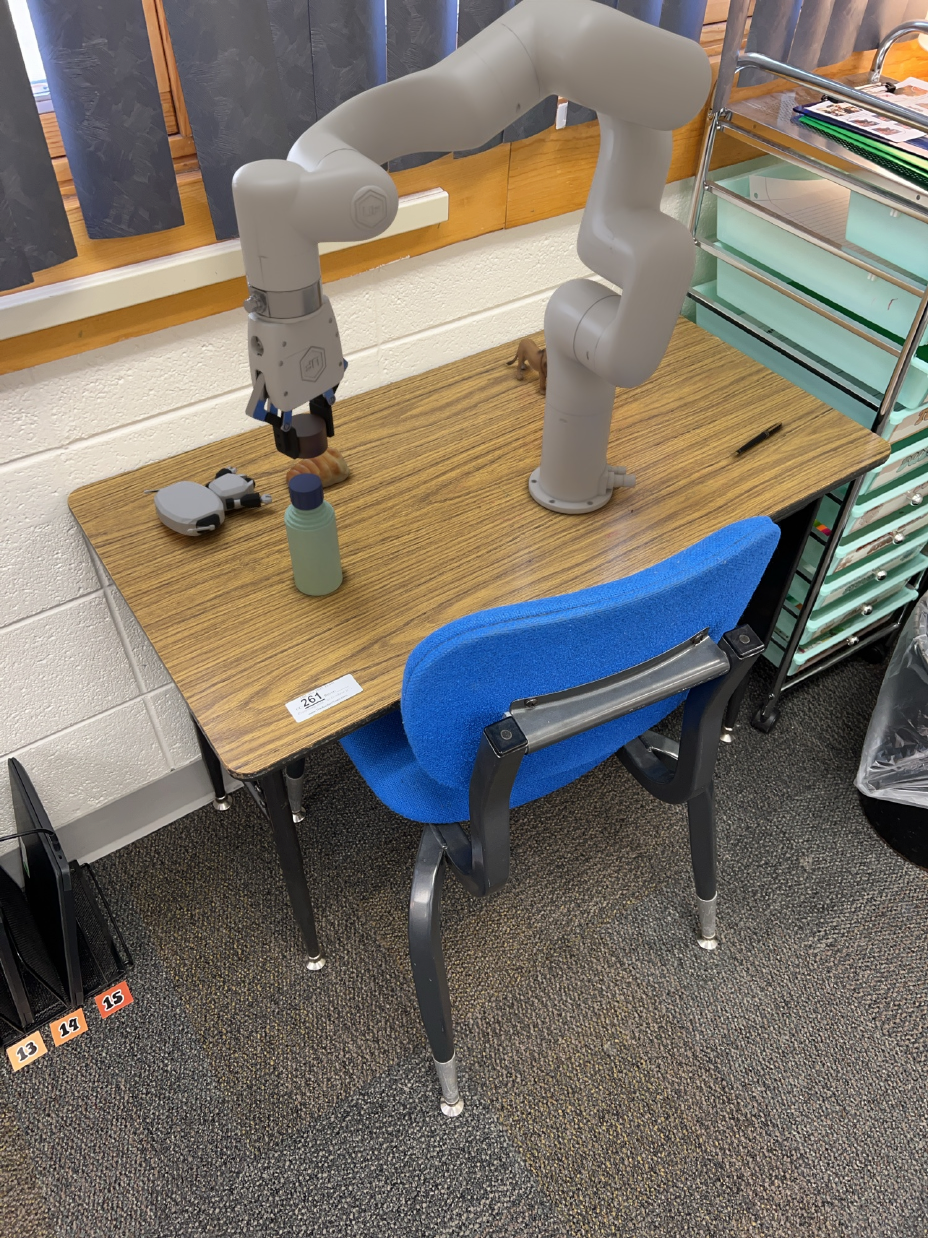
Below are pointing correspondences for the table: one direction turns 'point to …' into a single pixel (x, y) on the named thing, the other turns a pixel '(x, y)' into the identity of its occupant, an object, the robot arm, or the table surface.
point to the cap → (306, 491)
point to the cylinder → (310, 435)
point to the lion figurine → (531, 361)
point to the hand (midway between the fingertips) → (306, 442)
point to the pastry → (323, 467)
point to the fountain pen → (758, 438)
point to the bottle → (314, 549)
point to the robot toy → (205, 501)
